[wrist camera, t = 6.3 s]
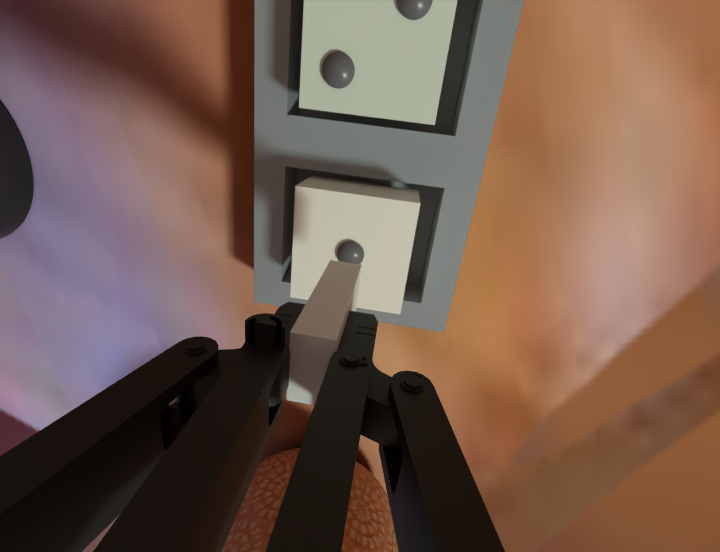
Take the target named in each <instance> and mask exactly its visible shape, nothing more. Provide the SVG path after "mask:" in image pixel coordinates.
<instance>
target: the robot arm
mask: <svg viewBox="0 0 720 552" xmlns="http://www.w3.org/2000/svg"><path fill="white" fill-rule="evenodd" d="M32 198H33V173H32V167H31V162H30V159H29V155H28V152H27V149H26V146H25V143H24V141H23V139H22V136H21V134H20V132H19V130H18V128H17V126H16V124H15V123H14V121H13V119H12V117H11V116H10V114H9V113H8V111H7V110H6V108H5V107H4V106H3V104H2V103H1V101H0V238H3V237H5V236H7V235H9V234H11V233H12V232H14V231H15V230H16V229H17V228H18V227H19V226H20V225H21V224H22V223H23V221H24V220H25V218H26V216H27V214H28V212H29V210H30V206H31V203H32ZM361 266H362V265H360V264H354V263H347V262H341V261H334V260H330V262H329V263H328V265H327V267H326V269H325V271H324V272H323V274H322V276H321V278H320V280H319V281H318V283H317V285H316V287H315V288H314V290H313V292H312V294H311V296H310V297H309V299H308V301H307V303H306V304H301V303H295V302H287V303H285V304H283V305H282V306H280V307H279V308H278V310H277V311H276V313H275V314H265V313H264V314H256V315H254V316H251V317H249V318H248V319H246V320H245V343H244V345H243V346H242V347H241V348H239V349H229V350H218V344H217V342H216V341H215V340H213V339H211V338H207V337H192V338H187V339H185V340H182V341H180V342H178V343H177V344H175V345H174V346H172V347H171V348H169V349H167V350H166V351H164V352H163V353H161V354H160V355H158V356H156V357H155V358H153V359H152V360H150V361H149V362H147V363H145V364H144V365H142V366H141V367H139V368H138V369H136V370H135V371H133V372H131V373H130V374H128V375H127V376H125V377H124V378H122V379H120V380H119V381H117V382H116V383H114V384H113V385H111V386H109V387H108V388H106V389H105V390H103V391H102V392H100V393H99V394H97V395H95V396H94V397H92V398H91V399H89V400H88V401H86V402H84V403H83V404H81V405H80V406H78V407H77V408H75V409H73V410H72V411H70V412H69V413H67V414H66V415H64V416H63V417H61V418H59V419H58V420H56V421H55V422H53V423H52V424H50V425H48V426H47V427H45V428H44V429H42V430H41V431H39V432H37V433H36V434H34V435H33V436H31V437H30V438H28V439H26V440H25V441H23V442H22V443H20V444H19V445H17V446H16V447H14V448H12V449H11V450H9V451H8V452H6V453H5V454H3V455H1V456H0V552H82V551H83V550H84V549H85V548H86V547H87V546H88V545H89V544H90V543H91V542H92V541H93V540H94V539H95V538H96V537H97V536H98V535H99V534H100V533H101V532H102V531H103V530H104V529H105V528H106V527H107V526H108V525H109V524H110V523H111V522H112V521H113V520H114V519H115V518H117V516H119V517H118V518H117V520H116V521H115V522H114V524H113V525H112V526H111V528H110V529H109V531H108V532H107V533H106V535H105V536H104V537H103V539H102V540H101V542H100V543H99V544H98V546H97V547H96V549H95V550H94V551H93V552H221V551H222V549H223V546H224V544H225V542H226V539H227V537H228V535H229V532H230V530H231V528H232V525H233V523H234V521H235V519H236V516H237V514H238V512H239V509H240V507H241V505H242V502H243V500H244V498H245V495H246V493H247V491H248V488H249V486H250V484H251V481H252V479H253V477H254V475H255V472H256V470H257V468H258V465H259V463H260V461H261V458H262V456H263V454H264V451H265V449H266V447H267V444H268V442H269V440H270V438H271V435H272V433H273V431H274V428H275V426H276V424H277V421H278V419H279V417H280V414H281V412H282V407H283V397H284V395H285V393H286V390H287V400H288V401H294V402H300V403H305V404H311V405H314V408H313V411H312V414H311V417H310V420H309V423H308V426H307V429H306V432H305V435H304V438H303V441H302V444H301V447H300V450H299V453H298V456H297V459H296V462H295V465H294V468H293V471H292V474H291V477H290V480H289V483H288V486H287V489H286V492H285V495H284V498H283V500H282V503H281V506H280V509H279V512H278V515H277V518H276V521H275V524H274V527H273V530H272V533H271V536H270V539H269V542H268V545H267V548H266V551H265V552H341V551H342V545H343V538H344V532H345V526H346V520H347V514H348V507H349V501H350V495H351V489H352V483H353V476H354V470H355V464H356V458H357V452H358V445H359V440H360V434H361V435H363V436H365V437H367V438H369V439H371V440H373V441H375V442H377V443H379V452H380V458H381V463H382V468H383V473H384V479H385V484H386V489H387V494H388V499H389V505H390V510H391V515H392V520H393V525H394V531H395V536H396V541H397V546H398V551H399V552H505V551H504V548H503V546H502V544H501V541H500V539H499V537H498V534H497V532H496V530H495V527H494V525H493V523H492V520H491V518H490V516H489V513H488V511H487V509H486V506H485V504H484V502H483V499H482V497H481V495H480V492H479V490H478V488H477V486H476V483H475V481H474V479H473V476H472V474H471V472H470V469H469V467H468V465H467V462H466V460H465V458H464V455H463V453H462V451H461V448H460V446H459V444H458V441H457V439H456V437H455V434H454V432H453V430H452V427H451V425H450V423H449V420H448V418H447V416H446V413H445V411H444V409H443V406H442V404H441V402H440V400H439V397H438V395H437V393H436V390H435V388H434V386H433V384H432V383H431V381H430V380H429V379H428V378H427V377H425V376H424V375H422V374H419V373H417V372H412V371H401V372H398V373H396V374H394V375H393V377H390V376H388V375H386V374H384V373H382V372H381V371H379V370H378V369H377V368H376V367H375V366H374V364H373V361H372V357H373V350H374V344H375V338H376V331H377V325H378V321H377V319H376V317H375V316H374V314H368V313H362V312H356V306H357V298H358V290H359V282H360V274H361ZM176 397H177V401H176V402H175V403H173V404H172V405H170V406H169V403H170V402H171V401H173V400H174V399H175V398H176Z"/></svg>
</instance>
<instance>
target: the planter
mask: <svg viewBox="0 0 720 552" xmlns="http://www.w3.org/2000/svg"><path fill="white" fill-rule="evenodd" d="M299 450H300V448H294V449H290V450H286V451H282V452H280V453H277V454H275V455H272V456H270V457H268V458H267V459H265V460H264V461H262V462H261V463H259V465H258V468H257V470H256V472H255V475H254V477H253V479H252V481H251V484H250V486H249V488H248V491H247V493H246V495H245V498H244V500H243V502H242V505H241V507H240V509H239V512H238V514H237V516H236V519H235V521H234V523H233V525H232V528H231V530H230V532H229V535H228V537H227V539H226V542H225V544H224V546H223V549H222V551H221V552H265V551H266V548H267V545H268V542H269V539H270V536H271V533H272V530H273V527H274V524H275V521H276V518H277V515H278V512H279V509H280V506H281V503H282V500H283V498H284V495H285V492H286V489H287V486H288V483H289V480H290V477H291V474H292V471H293V468H294V465H295V462H296V459H297V456H298V453H299ZM341 552H398V546H397V541H396V536H395V531H394V525H393V520H392V515H391V510H390V505H389V499H388V496H387V494H386V492H385V490H384V489H383V487H382V485H381V484H380V482H379V481H378V480H377V479H376V478H375V477H374V475H373V474H372V473H371V472H370V471H369V470H367V469H366V468H365V467H364V466H363V465H361V464H360V463H359V462H357V461H356V464H355V470H354V476H353V483H352V489H351V495H350V501H349V507H348V514H347V520H346V526H345V532H344V538H343V545H342V551H341Z"/></svg>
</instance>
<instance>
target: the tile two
mask: <svg viewBox="0 0 720 552" xmlns="http://www.w3.org/2000/svg"><path fill="white" fill-rule="evenodd" d="M456 6H457V0H304V8H303V29H302V51H301V73H300V95H299V108H304V109H312V110H320V111H328V112H336V113H344V114H351V115H359V116H367V117H375V118H383V119H391V120H398V121H406V122H414V123H422V124H430V125H435V121H436V116H437V110H438V105H439V99H440V94H441V88H442V83H443V77H444V72H445V66H446V61H447V55H448V50H449V44H450V39H451V33H452V28H453V22H454V17H455V11H456Z"/></svg>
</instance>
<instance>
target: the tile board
mask: <svg viewBox="0 0 720 552" xmlns="http://www.w3.org/2000/svg"><path fill="white" fill-rule="evenodd" d="M523 3H524V0H457V6H456V11H455V17H454V22H453V28H452V33H451V39H450V44H449V50H448V55H447V61H446V66H445V72H444V77H443V83H442V88H441V94H440V99H439V105H438V110H437V116H436V121H435V125H430V124H422V123H414V122H406V121H398V120H391V119H383V118H375V117H367V116H359V115H351V114H344V113H336V112H328V111H320V110H312V109H304V108H299V95H300V73H301V51H302V29H303V8H304V0H255V1H254V302H257V303H263V304H270V305H276V306H282V305H283V304H285V303H287V302H295V303H301V304H306V303H307V301H308V300H305V299H298V298H292V297H290V291H291V269H292V247H293V225H294V204H295V186H296V185H297V184H299V183H301V182H302V181H304V180H305V179H307V178H308V177H310V176H312V175H313V176H320V177H327V178H335V179H342V180H349V181H356V182H364V183H371V184H378V185H385V186H393V187H400V188H407V189H415V190H418V191H419V197H420V203H421V204H420V209H419V215H418V220H417V226H416V231H415V237H414V242H413V247H412V253H411V258H410V264H409V269H408V275H407V280H406V286H405V291H404V297H403V302H402V308H401V313H400V314H394V313H387V312H381V311H375V310H368V309H362V308H356V312H362V313H368V314H374V316H375V317H376V319H377V321H378V322H383V323H389V324H396V325H402V326H408V327H414V328H421V329H427V330H433V331H440V332H444V330H445V326H446V322H447V318H448V314H449V309H450V305H451V301H452V297H453V293H454V289H455V285H456V280H457V276H458V272H459V268H460V264H461V260H462V256H463V251H464V247H465V243H466V239H467V235H468V231H469V226H470V222H471V218H472V214H473V210H474V206H475V202H476V197H477V193H478V189H479V185H480V181H481V177H482V173H483V168H484V164H485V160H486V156H487V152H488V148H489V144H490V139H491V135H492V131H493V127H494V123H495V119H496V115H497V110H498V106H499V102H500V98H501V94H502V90H503V85H504V81H505V77H506V73H507V69H508V65H509V61H510V56H511V52H512V48H513V44H514V40H515V36H516V32H517V27H518V23H519V19H520V15H521V11H522V7H523Z"/></svg>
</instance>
